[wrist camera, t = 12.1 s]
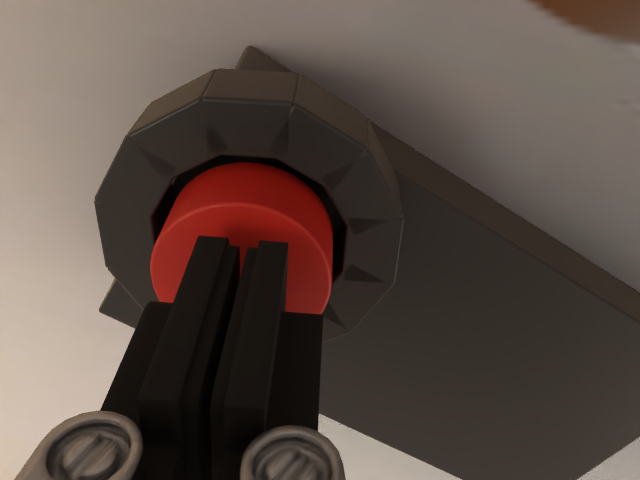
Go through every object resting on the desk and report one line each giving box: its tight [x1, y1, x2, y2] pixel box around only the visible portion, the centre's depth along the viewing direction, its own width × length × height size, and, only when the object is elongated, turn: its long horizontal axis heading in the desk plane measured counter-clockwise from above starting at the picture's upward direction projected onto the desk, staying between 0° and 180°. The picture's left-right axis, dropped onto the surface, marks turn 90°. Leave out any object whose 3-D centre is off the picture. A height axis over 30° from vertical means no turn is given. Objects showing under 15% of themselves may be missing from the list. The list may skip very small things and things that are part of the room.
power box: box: [94, 46, 640, 480], centre depth 17 cm, size 17×9×4 cm, turn 57°
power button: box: [150, 162, 333, 314], centre depth 13 cm, size 4×4×2 cm
